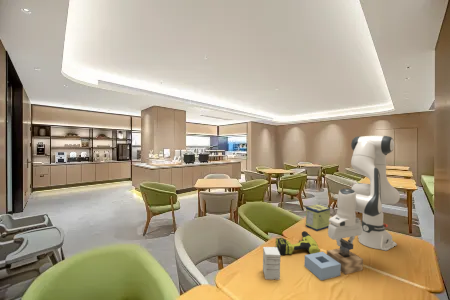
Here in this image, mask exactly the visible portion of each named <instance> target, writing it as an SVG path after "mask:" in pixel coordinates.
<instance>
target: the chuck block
mask: <svg viewBox="0 0 450 300" xmlns="http://www.w3.org/2000/svg"><path fill="white" fill-rule="evenodd" d="M303 263H304V265H303V266H304V267H305V268H306V269H307V270H308V271H309V272H311V273H312V274H313V275H314V276H315V277H317V278H318V280H319V281H324V280H329V279H331V278H336V277H340V276H341V273H342V272H341V264H340V263H339V262H337V261H336V260H334V259H333V258H331V257H330V256H328V255H327V253H325V252H324V251H320V252H318V253H313V254H310V253H309V254H305V255H304V262H303Z"/></svg>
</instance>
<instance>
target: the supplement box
mask: <svg viewBox="0 0 450 300" xmlns="http://www.w3.org/2000/svg"><path fill="white" fill-rule="evenodd" d="M262 249H263V250H262V251H263V252H262V272H263V275H264V279H265V280H274V279H275V280H281V255H280V253H279V251H278V249H277V247H276V246H263V247H262Z"/></svg>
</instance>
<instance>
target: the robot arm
mask: <svg viewBox="0 0 450 300" xmlns="http://www.w3.org/2000/svg"><path fill="white" fill-rule="evenodd" d="M350 145H351V150H352V151H353V152H352V156H351V161H350V166H351V168H352V170H354V171H355V172H356V173H358V174H359V175H362V176H364V177H366V178H368V179H369V183H363V182H362V183H361V182H360V183H354V184H352V187H351V188H341V189H339V190H338V193H337V201H336V202H337V203H336V206H337V210H336V214H335V215H333V216H330V219H329V222H330V224H329V227H328V228H327V235H328V237H329V238H330V239H331V240H335V241H336V245H337V247H340V246H342V243H341V242H340V240H341V238H342V239H346V238H347V241H348V242H349V243H351V244H353V243H354V239H355V238H356V237H357V238H358V242H359V243H360V244H361V245H364V246H365V247H368V248H372V249H376V250H382V251H389V250H390V249H392V248H394V246H395V247H396V246H397V245H398V244H397V243H396V241H393V236H392V234H391V233H390V232H388V231H387V230H386V228H388V226H389V224H387V223H384V212H383V210H382V209H383V205H384V204H385V205H395V204H397V203H399V201H400V198H401V195H400V192H399V190H398V189H396V188H395V187H394V186H393V185H392V184H391V183H390V182H389V180H388V178H387V155H388V154H390V153H392V152H393V150H394V148H395V142H394V139H393V138H392V136H388V135H366V136H365V135H364V136H363V135H362V136H360V135H359V136H355V137H353V139H352V140H351V143H350ZM382 204H383V205H382ZM356 212H358V213H361V214H362V220H361V219H360V218H359V217H357V216H356V215H357V214H356ZM348 238H349V239H348ZM353 245H354V244H353Z"/></svg>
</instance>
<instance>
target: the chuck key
mask: <svg viewBox="0 0 450 300" xmlns="http://www.w3.org/2000/svg"><path fill="white" fill-rule="evenodd" d="M340 242H341V243H342V246H339V248H340V255H341V256H343V257H344V258H346V257H349V251H351V250H354V244H351V243H349V242H348V240H346V239H345V238H341V240H340Z"/></svg>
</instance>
